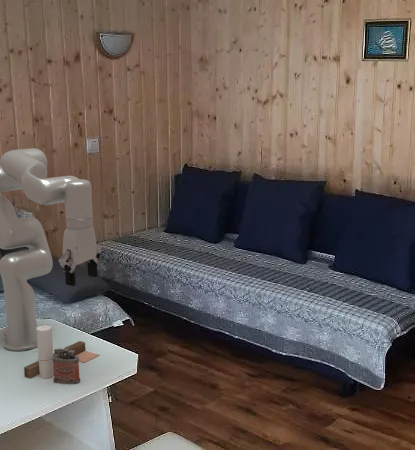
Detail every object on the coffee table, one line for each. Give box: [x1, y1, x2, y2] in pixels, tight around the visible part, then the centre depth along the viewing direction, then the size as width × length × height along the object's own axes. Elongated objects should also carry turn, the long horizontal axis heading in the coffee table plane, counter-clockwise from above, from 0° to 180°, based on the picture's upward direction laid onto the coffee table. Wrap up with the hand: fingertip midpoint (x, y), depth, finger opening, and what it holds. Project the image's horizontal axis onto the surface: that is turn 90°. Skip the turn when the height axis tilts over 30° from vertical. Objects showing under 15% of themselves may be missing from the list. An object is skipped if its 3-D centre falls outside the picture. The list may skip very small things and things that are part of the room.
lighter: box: [52, 347, 81, 385], centre depth 197 cm, size 8×3×10 cm, turn 78°
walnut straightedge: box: [23, 340, 87, 379], centre depth 210 cm, size 2×24×3 cm, turn 148°
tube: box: [36, 324, 54, 380], centre depth 200 cm, size 4×4×15 cm
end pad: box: [76, 350, 100, 364], centre depth 215 cm, size 6×7×1 cm
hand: (82, 280), depth 197 cm, fingers open, 9 cm apart
